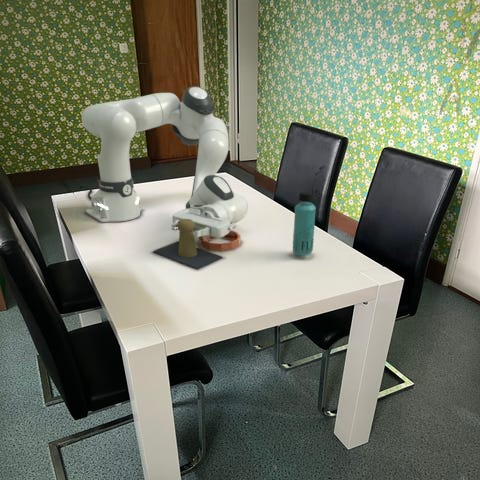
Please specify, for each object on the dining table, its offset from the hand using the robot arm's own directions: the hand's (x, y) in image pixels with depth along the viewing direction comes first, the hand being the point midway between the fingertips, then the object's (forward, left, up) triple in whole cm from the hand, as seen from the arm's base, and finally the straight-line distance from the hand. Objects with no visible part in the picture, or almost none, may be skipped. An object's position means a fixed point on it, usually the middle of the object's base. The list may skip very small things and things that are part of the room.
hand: (184, 231), depth 142 cm
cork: (0, +1, -8) cm, 8 cm away
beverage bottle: (+28, +24, -8) cm, 38 cm away
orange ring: (+1, +15, -8) cm, 17 cm away
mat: (0, +1, -8) cm, 8 cm away
